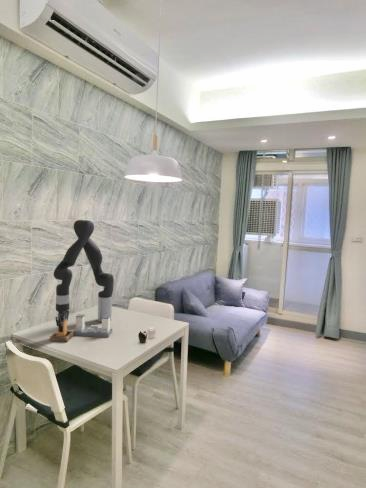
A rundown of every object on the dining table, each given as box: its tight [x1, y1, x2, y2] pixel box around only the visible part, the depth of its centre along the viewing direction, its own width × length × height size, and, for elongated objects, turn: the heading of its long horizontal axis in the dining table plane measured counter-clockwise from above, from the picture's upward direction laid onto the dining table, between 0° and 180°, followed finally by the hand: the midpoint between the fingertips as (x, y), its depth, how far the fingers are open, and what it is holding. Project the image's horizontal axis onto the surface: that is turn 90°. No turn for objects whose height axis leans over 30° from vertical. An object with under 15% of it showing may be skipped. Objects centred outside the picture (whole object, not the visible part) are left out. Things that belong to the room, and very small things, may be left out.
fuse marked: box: [57, 319, 68, 336], centre depth 189 cm, size 4×4×9 cm
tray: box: [49, 330, 75, 343], centre depth 189 cm, size 10×10×2 cm
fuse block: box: [73, 313, 113, 338], centre depth 198 cm, size 9×22×11 cm, turn 88°
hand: (62, 330), depth 189 cm, fingers closed on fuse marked, 3 cm apart
